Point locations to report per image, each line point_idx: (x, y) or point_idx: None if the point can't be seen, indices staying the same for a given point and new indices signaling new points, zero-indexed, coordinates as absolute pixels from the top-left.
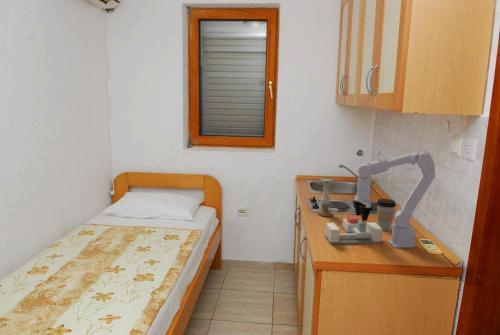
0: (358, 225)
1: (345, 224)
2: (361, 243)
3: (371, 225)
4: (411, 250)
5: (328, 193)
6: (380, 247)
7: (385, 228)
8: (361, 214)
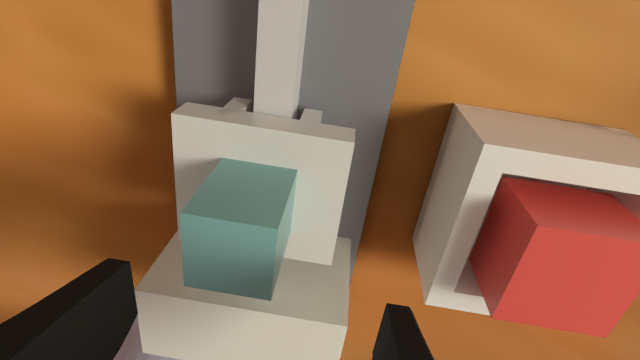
0: (248, 194)
1: (567, 144)
2: None
3: (249, 322)
4: None
5: None
6: (125, 214)
7: None
8: (37, 336)
